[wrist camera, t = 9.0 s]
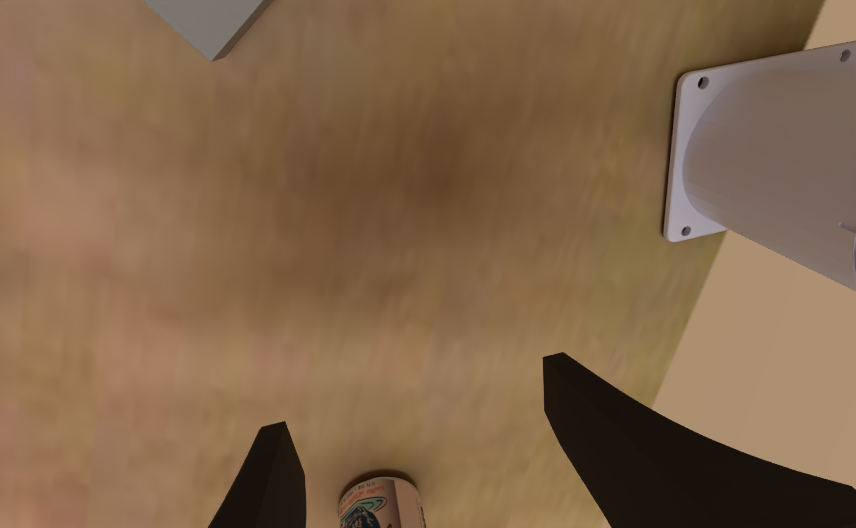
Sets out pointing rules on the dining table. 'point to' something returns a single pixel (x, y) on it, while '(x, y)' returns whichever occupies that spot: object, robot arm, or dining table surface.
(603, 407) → the robot arm
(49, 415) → the dining table surface
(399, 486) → the beer can
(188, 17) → the socket
